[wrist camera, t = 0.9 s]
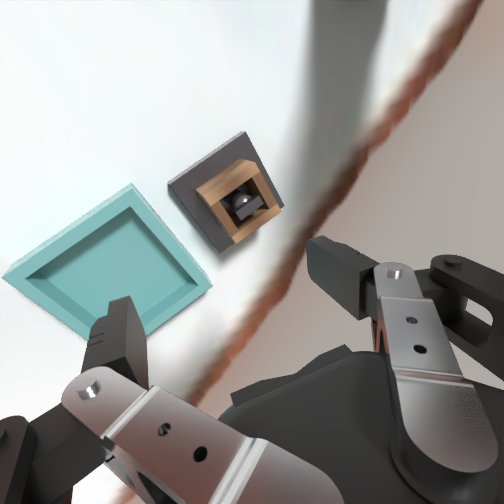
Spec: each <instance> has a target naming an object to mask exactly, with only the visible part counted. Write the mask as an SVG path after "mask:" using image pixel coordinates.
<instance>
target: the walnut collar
mask: <svg viewBox="0 0 504 504" xmlns="http://www.w3.org/2000/svg"><path fill="white" fill-rule="evenodd" d="M243 183H244V184H245V186H246V187H247V189H248V191H249V192H250V194H251V196H254V195H255V194H257V195H259V196H260V198H261V200H262V202H263V203H264V204H263V205H261V206H260V207H259V208H257V209H256V210H255V211H254V213H252V214H251V215H249V216H246V217H245V218H243V219H242V220H240V219H239V218H238V217H237V215H236V214H234V215H233V216H232V217H230V216H229V215H228V213H227V212H226V210H225V209H224V207H223V206H222V204H221V203H220V201H219V200H220V199H222V198H223V197H224V196H226V195H227V194H229V193H230V192H231V191H233V190H234V189H236V188H237V187H238V186H240V185H241V184H243ZM196 191H197V192H198V194H199V195H200V197H201V198H202V199H203V201H204V202H205V204H206V205H207V207H208V208H209V210H210V211H211V212H212V214H213V215H214V217H215V218H216V220H217V221H218V223H219V224H220V225H221V227H222V228H223V230H224V231H225V232H226V233H227V234H228V235H229V237H230V238H231V239H232V240H233V241H234V242H235V243H236V244H237V243H239V242H240V241H241V240H243V239H244V238H245V237H247V236H248V235H250V234H251V233H252V232H254V231H255V230H256V229H258V228H259V227H260V226H262V225H263V224H265V223H266V222H267V221H269V220H270V219H271V218H273V217H274V216H276V215H277V214H278V213H280V212H281V210H280V208H279V206H278V204H277V202H276V200H275V198H274V197H273V195H272V193H271V191H270V189H269V187H268V185H267V184H266V182H265V180H264V178H263V176H262V174H261V172H260V170H259V169H258V167H257V165H256V163H255V162H252V161H248V160H244V159H239V160H237V161H236V162H234V163H233V164H231V165H230V166H229V167H227V168H226V169H224V170H223V171H221V172H220V173H219V174H217V175H216V176H214V177H213V178H211V179H210V180H209V181H207V182H206V183H204V184H203V185H201V186H200V187H199V188H197V189H196Z"/></svg>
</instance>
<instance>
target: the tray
mask: <svg viewBox="0 0 504 504" xmlns="http://www.w3.org/2000/svg"><path fill="white" fill-rule="evenodd" d="M1 278H2V279H4V280H5V281H6V282H8V283H9V284H10V285H12V286H13V287H14V288H16V289H17V290H19V291H20V292H21V293H23V294H24V295H25V296H27V297H28V298H30V299H31V300H32V301H34V302H35V303H36V304H38V305H39V306H40V307H42V308H43V309H45V310H46V311H47V312H49V313H50V314H51V315H53V316H54V317H56V318H57V319H58V320H60V321H61V322H62V323H64V324H65V325H67V326H68V327H69V328H71V329H72V330H73V331H75V332H76V333H77V334H79V335H80V336H82V337H83V338H84V339H86V340H87V341H88V339H89V334H90V329H91V327H92V326H93V324H94V323H95V322H96V320H97V319H98V318H100V317H103V316H106V315H107V312H108V306H109V302H110V301H112V300H116V299H119V298H122V297H125V296H128V295H129V296H130V297H131V299H132V301H133V303H134V306H135V308H136V310H137V313H138V315H139V318H140V320H141V322H142V325H143V328H144V331H145V335H146V336H147V335H148V334H149V333H151V332H152V331H153V330H155V329H156V328H157V327H159V326H160V325H161V324H163V323H164V322H165V321H167V320H168V319H169V318H171V317H172V316H174V315H175V314H176V313H178V312H179V311H180V310H182V309H183V308H184V307H186V306H187V305H188V304H190V303H191V302H192V301H194V300H195V299H196V298H198V297H199V296H201V295H202V294H203V293H205V292H206V291H207V290H209V289H210V288H211V287H213V286H212V284H211V282H210V280H209V278H208V276H207V274H206V273H205V272H204V270H203V269H202V268H201V267H200V265H199V264H198V263H197V262H196V261H195V259H194V258H193V257H192V256H191V254H190V253H189V252H188V251H187V250H186V248H185V247H184V246H183V245H182V243H181V242H180V241H179V240H178V239H177V237H176V236H175V235H174V234H173V232H172V231H171V230H170V229H169V228H168V226H167V225H166V224H165V223H164V221H163V220H162V219H161V218H160V217H159V215H158V214H157V213H156V212H155V211H154V209H153V208H152V207H151V206H150V204H149V203H148V202H147V201H146V200H145V198H144V197H143V196H142V195H141V193H140V192H139V191H138V190H137V189H136V187H135V186H134V185H133V184H132V183H131V184H129V185H128V186H126V187H125V188H123V189H122V190H120V191H119V192H117V193H116V194H114V195H113V196H111V197H110V198H109V199H107V200H106V201H104V202H103V203H101V204H100V205H98V206H97V207H95V208H94V209H92V210H91V211H89V212H88V213H86V214H85V215H84V216H82V217H81V218H79V219H78V220H76V221H75V222H73V223H72V224H70V225H69V226H67V227H66V228H64V229H63V230H62V231H60V232H59V233H57V234H56V235H54V236H53V237H51V238H50V239H48V240H47V241H45V242H44V243H42V244H41V245H39V246H38V247H37V248H35V249H34V250H32V251H31V252H29V253H28V254H26V255H25V256H23V257H22V258H20V259H19V260H17V261H16V262H15V263H14V264H13V265H12V266H11V267H10V268H9V269H8V271H7V272H6V273H5V274H4V275H3V276H2V277H1Z"/></svg>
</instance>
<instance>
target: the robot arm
mask: <svg viewBox="0 0 504 504" xmlns="http://www.w3.org/2000/svg"><path fill="white" fill-rule="evenodd" d="M306 253H307V266H308V273H309V276H310V278H311V279H312V280H313V282H315V283H316V284H317V285H318V286H319V287H320V288H322V289H323V290H324V291H325V292H326V293H327V294H328V295H330V296H331V297H332V298H333V299H334V300H335V301H336V302H338V303H339V304H340V305H341V306H342V307H343V308H344V309H346V310H347V311H348V312H349V313H350V314H351V315H353V316H354V317H355V318H356V319H357V320H358V321H359V320H362V319H364V318H366V317H368V316H370V317H371V328H372V338H373V349H374V352H371V351H358V352H352V351H351V350H350V349H349V348H348V347H347V346H346V345H345V344H344V345H342V346H340V347H337V348H335V349H332V350H330V351H328V352H326V353H323V354H321V355H319V356H318V357H316V358H315V359H314V360H312V361H311V362H310V363H308V364H307V365H306V366H305V367H303V368H302V369H301V370H300V371H298V372H297V373H295V374H292V375H288V376H283V377H278V378H272V379H267V380H261V381H259V382H257V383H254V384H252V385H249V386H247V387H245V388H243V389H240V390H238V391H236V392H233V393H231V394H230V395H231V398H232V402H233V405H232V406H231V407H229V408H228V409H227V410H226V411H225V412H224V413H223V414H222V415H221V416H220V417H219V418H218V419H215V418H213V417H212V416H210V415H208V414H206V413H204V412H203V411H201V410H199V409H197V408H196V407H194V406H192V405H190V404H189V403H187V402H185V401H183V400H182V399H180V398H178V397H176V396H175V395H173V394H171V393H169V392H167V391H166V390H164V389H162V388H160V387H158V386H155V385H154V386H152V387H151V388H150V389H149V383H148V363H147V343H146V335H145V331H144V328H143V325H142V322H141V320H140V318H139V315H138V313H137V310H136V308H135V306H134V303H133V301H132V299H131V297H130V296H129V295H128V296H125V297H122V298H119V299H116V300H112V301H110V302H109V306H108V312H107V315H106V316H103V317H100V318H98V319H97V320H96V322H95V323H94V324H93V326H92V327H91V329H90V334H89V339H88V343H87V348H86V352H85V356H84V361H83V365H82V370H81V374H80V375H79V376H77V377H76V378H75V379H74V380H72V381H71V382H70V384H69V385H68V386H67V387H66V389H65V390H64V392H63V394H62V398H61V403H60V404H58V405H57V406H55V407H54V408H52V409H51V410H49V411H47V412H46V413H44V414H43V415H41V416H39V417H38V418H36V419H34V420H33V421H31V422H28V421H27V420H26V419H25V418H24V417H22V416H11V417H7V418H4V419H2V420H0V504H71V501H72V492H73V486H74V485H75V484H76V483H78V482H79V481H80V480H82V479H83V478H84V477H86V476H87V475H88V474H89V473H91V472H92V471H93V470H95V469H96V468H97V467H99V466H100V465H101V464H105V465H106V466H107V467H108V468H109V469H110V470H111V471H112V472H113V473H114V474H115V475H116V476H118V477H119V478H120V479H121V480H122V481H123V482H124V483H125V484H126V485H127V486H128V487H129V488H130V489H132V490H133V491H134V492H135V493H136V494H137V495H138V496H139V497H140V498H141V499H142V500H143V501H144V502H145V503H146V504H504V390H501V389H498V388H495V387H491V386H488V385H485V384H482V383H479V382H475V381H472V380H469V379H466V378H464V376H463V374H462V372H461V369H460V367H459V364H458V362H457V359H456V357H455V355H454V352H453V350H452V347H451V345H450V342H452V343H453V344H454V345H456V346H457V347H458V348H460V349H461V350H462V351H464V352H465V353H467V354H468V355H469V356H470V357H472V358H473V359H474V360H476V361H477V362H478V363H480V364H481V365H483V366H484V367H485V368H487V369H488V370H489V371H491V372H492V373H493V374H495V375H496V376H497V377H499V378H500V379H502V380H503V381H504V274H502V273H499V272H497V271H495V270H492V269H490V268H488V267H485V266H483V265H481V264H479V263H476V262H474V261H472V260H469V259H467V258H465V257H461V256H457V255H439V256H436V257H434V258H432V260H431V265H430V269H424V270H416V271H413V269H412V268H410V267H409V266H407V265H405V264H401V263H395V262H386V263H381V264H380V263H378V262H376V261H374V260H372V259H371V258H369V257H367V256H365V255H364V254H360V252H358V251H357V250H354V249H353V248H351V247H349V246H348V245H346V244H342V243H338V242H334V241H332V240H330V239H328V238H327V237H325V236H319V237H315V238H312V239H309V240H307V242H306ZM468 298H469V299H471V300H472V301H474V302H476V303H478V304H480V305H481V306H483V307H485V308H486V309H487V310H488V311H489V312H490V313H491V315H492V317H493V323H492V326H490V325H488V324H487V323H485V322H484V321H482V320H480V319H479V318H477V317H475V316H474V315H472V314H470V313H468V312H467V311H465V310H466V306H467V301H468ZM449 341H450V342H449Z"/></svg>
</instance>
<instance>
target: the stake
mask: <svg viewBox="0 0 504 504" xmlns="http://www.w3.org/2000/svg"><path fill="white" fill-rule="evenodd" d="M239 159H244V160H248V161H252V162H255V163H256V165H257V167H258V169H259V170H260V172H261V174H262V176H263V178H264V180H265V182H266V184H267V185H268V187H269V189H270V191H271V193H272V195H273V197H274V198H275V200H276V202H277V204H278V206H279V208H280V209H281V208H282V207H284V204H283V202H282V200H281V198H280V196H279V194H278V193H277V191H276V189H275V187H274V185H273V183H272V181H271V179H270V177H269V175H268V173H267V171H266V170H265V168H264V166H263V164H262V162H261V160H260V158H259V156H258V154H257V152H256V150H255V148H254V147H253V145H252V143H251V141H250V139H249V137H248V135H247V133H246V132H240V133H238V134H237V135H235V136H234V137H233V138H231V139H230V140H228V141H227V142H225V143H224V144H222V145H221V146H219V147H218V148H217V149H215V150H214V151H212V152H211V153H209V154H208V155H206V156H205V157H204V158H202V159H201V160H199V161H198V162H196V163H195V164H193V165H192V166H191V167H189V168H188V169H186V170H185V171H183V172H182V173H180V174H179V175H177V176H176V177H175V178H173V179H172V180H170V181H169V182H167V183H168V184H169V185H170V187H171V188H172V189H173V191H174V192H175V193H176V195H177V196H178V197H179V199H180V200H181V202H182V203H183V204H184V206H185V207H186V208H187V210H188V211H189V212H190V214H191V215H192V216H193V218H194V219H195V220H196V222H197V223H198V224H199V226H200V227H201V228H202V230H203V231H204V232H205V234H206V235H207V236H208V238H209V239H210V241H211V242H212V243H213V245H214V246H215V247H216V249H217V250H218V251H219V253H221V252H222V251H224V250H225V249H226V248H228V247H229V246H230V245H232V244H233V243H234V241H233V240H232V239H231V238H230V237H229V235H228V234H227V233H226V232H225V231H224V230H223V228H222V227H221V225H220V224H219V223H218V221H217V220H216V218H215V217H214V215H213V214H212V212H211V211H210V210H209V208H208V207H207V205H206V204H205V202H204V201H203V199H202V198H201V197H200V195H199V194H198V192H197V191H196V189H197V188H199V187H200V186H201V185H203V184H204V183H206V182H207V181H209V180H210V179H211V178H213V177H214V176H216V175H217V174H219V173H220V172H221V171H223V170H224V169H226V168H227V167H229V166H230V165H231V164H233V163H234V162H236V161H237V160H239ZM219 201H220V203H221V204H222V206H223V207H224V209H225V210H226V212H227V213H228V215H229V216H230V217H232V216H233V215H234V214H236V215H237V217H238V218H239V219H240V220H242V219H243V218H245V217H246V216H249V215H251V214H252V213H254V211H255V210H256V209H257V208H259V207H260V206H261V205H263V204H264V203H263V202H262V200H261V198H260V196H259V195H257V194H255V195H254V196H251V194H250V192H249V191H248V189H247V187H246V186H245V184H244V183H243V184H241V185H240V186H238V187H237V188H236V189H234V190H233V191H231V192H230V193H229V194H227V195H226V196H224V197H223V198H222V199H220V200H219Z"/></svg>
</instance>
